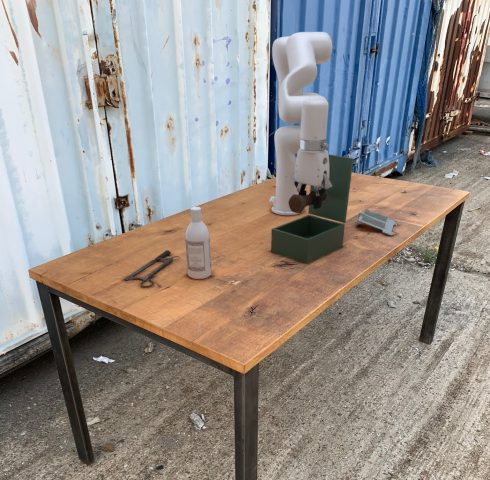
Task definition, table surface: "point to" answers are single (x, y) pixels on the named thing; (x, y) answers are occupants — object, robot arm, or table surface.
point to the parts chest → (307, 238)
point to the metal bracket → (376, 221)
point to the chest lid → (336, 190)
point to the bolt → (303, 201)
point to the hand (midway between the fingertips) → (309, 205)
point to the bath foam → (198, 246)
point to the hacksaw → (154, 270)
